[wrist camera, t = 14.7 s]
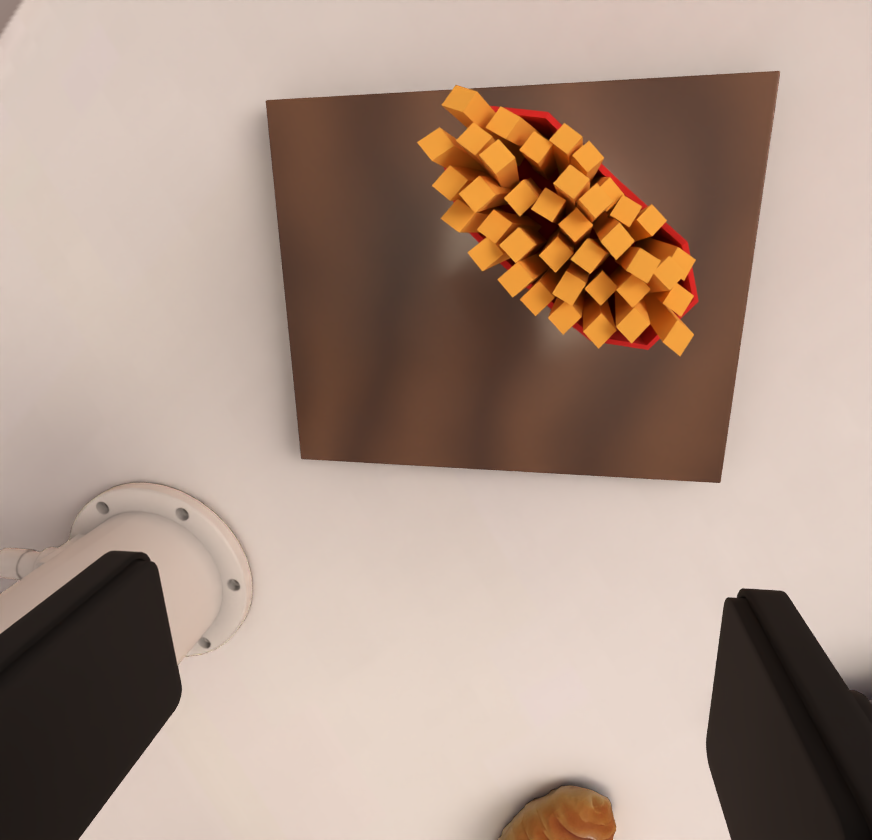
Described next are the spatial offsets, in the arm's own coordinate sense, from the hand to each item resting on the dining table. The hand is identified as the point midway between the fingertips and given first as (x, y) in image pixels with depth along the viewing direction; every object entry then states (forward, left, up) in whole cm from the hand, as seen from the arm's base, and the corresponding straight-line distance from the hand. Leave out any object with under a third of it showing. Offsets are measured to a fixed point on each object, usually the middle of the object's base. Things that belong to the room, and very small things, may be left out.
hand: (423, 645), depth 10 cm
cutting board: (-1, +3, -23) cm, 23 cm away
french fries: (+2, +6, -22) cm, 23 cm away
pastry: (+3, -33, -23) cm, 41 cm away
